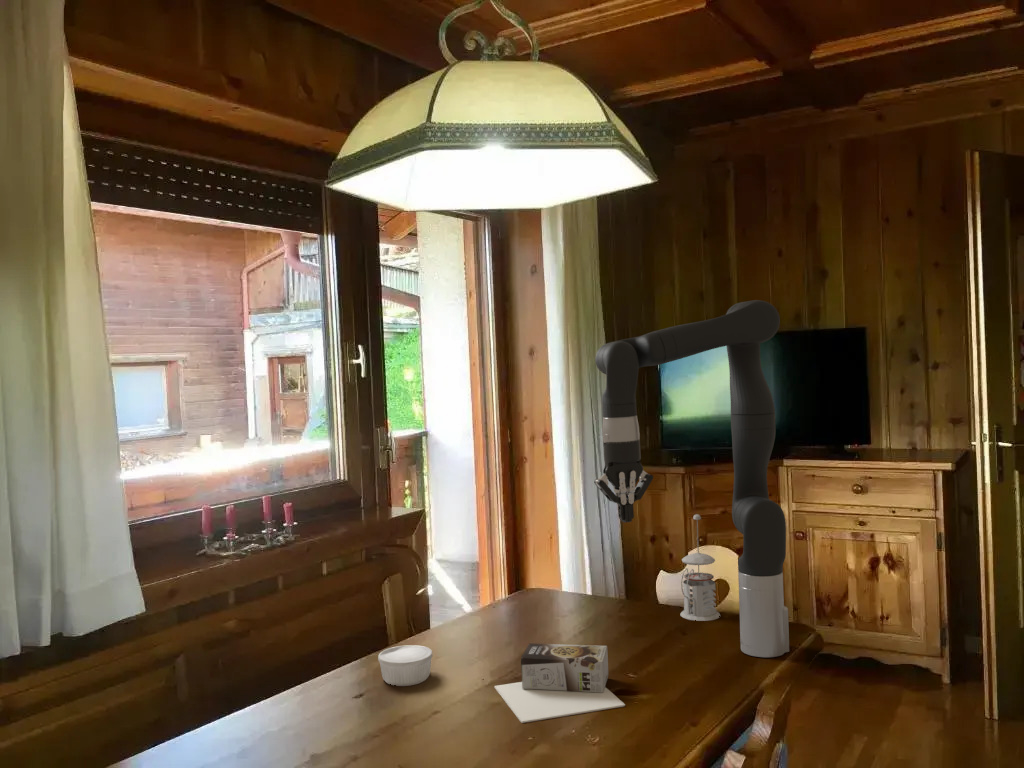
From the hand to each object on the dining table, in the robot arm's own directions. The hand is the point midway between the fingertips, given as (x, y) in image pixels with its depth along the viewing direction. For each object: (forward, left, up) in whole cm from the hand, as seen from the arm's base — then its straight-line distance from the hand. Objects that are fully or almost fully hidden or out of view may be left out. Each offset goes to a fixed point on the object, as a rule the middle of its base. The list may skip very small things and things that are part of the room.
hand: (626, 521), depth 177 cm
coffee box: (+9, +8, -27) cm, 29 cm away
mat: (+20, +9, -30) cm, 37 cm away
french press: (-30, -26, -31) cm, 50 cm away
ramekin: (+45, -12, -31) cm, 56 cm away
